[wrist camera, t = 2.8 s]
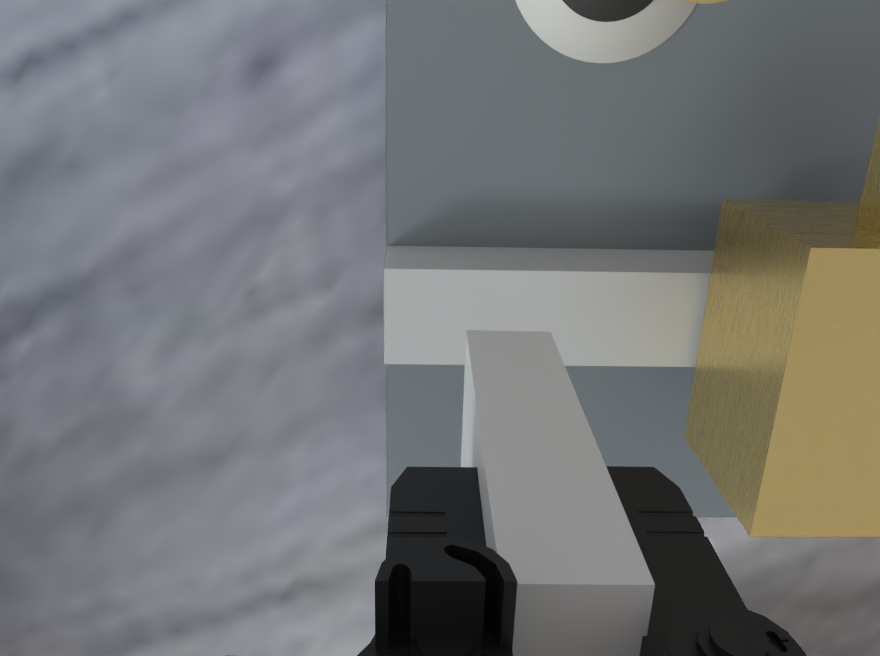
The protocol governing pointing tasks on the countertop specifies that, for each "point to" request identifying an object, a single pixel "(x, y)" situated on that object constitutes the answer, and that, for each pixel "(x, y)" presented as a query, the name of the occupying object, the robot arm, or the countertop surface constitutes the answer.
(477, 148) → the gauge board
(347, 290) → the countertop surface
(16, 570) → the countertop surface
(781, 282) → the pointer
